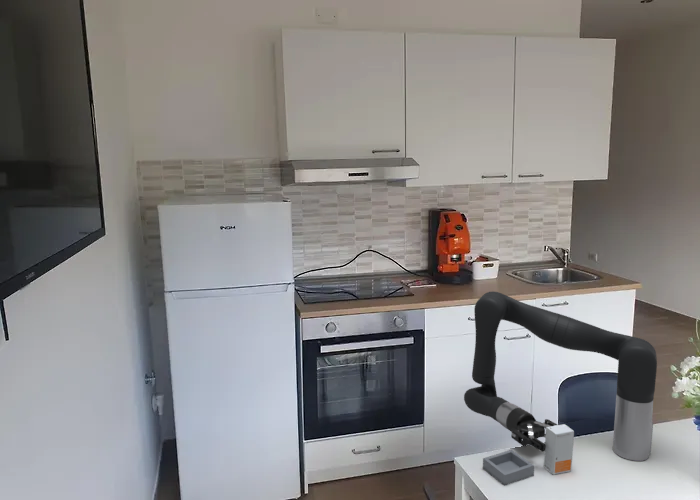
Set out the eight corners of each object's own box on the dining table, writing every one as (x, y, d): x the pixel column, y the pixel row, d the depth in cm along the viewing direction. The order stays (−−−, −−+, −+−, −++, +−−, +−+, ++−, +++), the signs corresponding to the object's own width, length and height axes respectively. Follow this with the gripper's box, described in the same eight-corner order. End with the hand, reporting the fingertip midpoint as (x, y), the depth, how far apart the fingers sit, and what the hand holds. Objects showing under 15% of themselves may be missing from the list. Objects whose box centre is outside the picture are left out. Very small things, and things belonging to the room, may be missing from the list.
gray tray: (511, 459, 149) (511, 449, 148) (533, 475, 141) (534, 465, 140) (482, 468, 145) (483, 458, 144) (504, 485, 137) (504, 475, 136)
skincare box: (553, 475, 141) (555, 434, 139) (543, 467, 145) (545, 426, 143) (572, 471, 142) (574, 430, 140) (562, 463, 147) (564, 423, 145)
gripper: (496, 412, 154) (537, 437, 140) (533, 402, 160) (576, 426, 146) (496, 436, 156) (536, 463, 141) (532, 425, 161) (574, 451, 147)
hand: (556, 444), depth 143 cm, fingers open, 8 cm apart
